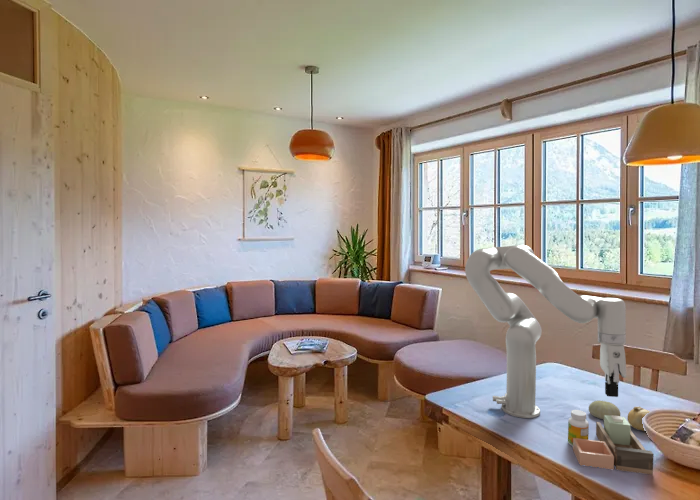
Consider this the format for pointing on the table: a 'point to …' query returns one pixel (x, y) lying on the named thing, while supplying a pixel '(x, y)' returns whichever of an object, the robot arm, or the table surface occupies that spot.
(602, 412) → the sea urchin shell
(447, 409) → the table surface
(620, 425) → the block
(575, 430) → the supplement bottle
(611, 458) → the holder
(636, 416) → the onion
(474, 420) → the table surface
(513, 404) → the robot arm
